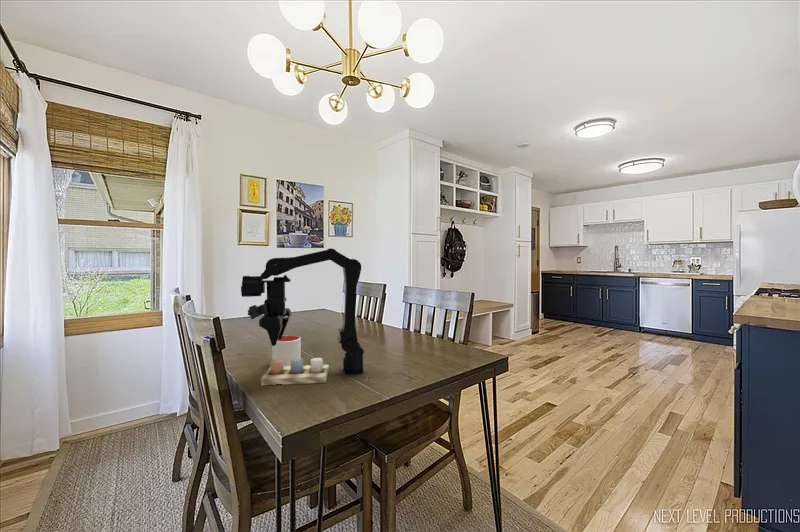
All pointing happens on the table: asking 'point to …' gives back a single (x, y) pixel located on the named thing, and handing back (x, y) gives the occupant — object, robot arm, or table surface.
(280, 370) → the button terracotta
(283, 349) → the cup
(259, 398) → the table surface
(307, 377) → the board
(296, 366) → the button slate
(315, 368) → the button cream
